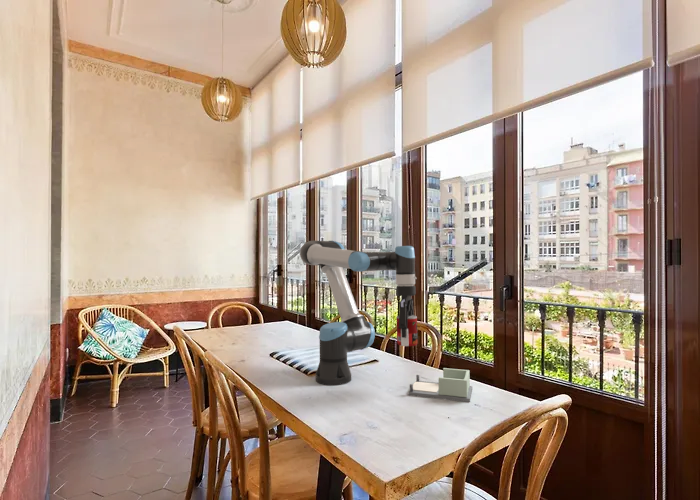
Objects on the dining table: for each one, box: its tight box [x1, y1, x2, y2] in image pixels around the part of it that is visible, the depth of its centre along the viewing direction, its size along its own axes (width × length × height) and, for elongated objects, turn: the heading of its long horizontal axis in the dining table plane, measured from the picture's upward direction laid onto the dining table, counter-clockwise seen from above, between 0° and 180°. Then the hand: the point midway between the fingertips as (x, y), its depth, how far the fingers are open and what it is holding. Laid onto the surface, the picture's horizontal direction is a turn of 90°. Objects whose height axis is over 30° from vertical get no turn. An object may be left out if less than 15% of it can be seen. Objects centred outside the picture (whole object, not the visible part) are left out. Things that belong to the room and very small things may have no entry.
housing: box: [438, 367, 471, 397], centre depth 157 cm, size 10×14×6 cm
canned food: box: [396, 314, 418, 347], centre depth 162 cm, size 8×8×11 cm
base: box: [408, 374, 473, 403], centre depth 158 cm, size 22×15×4 cm
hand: (407, 343), depth 162 cm, fingers closed on canned food, 8 cm apart
